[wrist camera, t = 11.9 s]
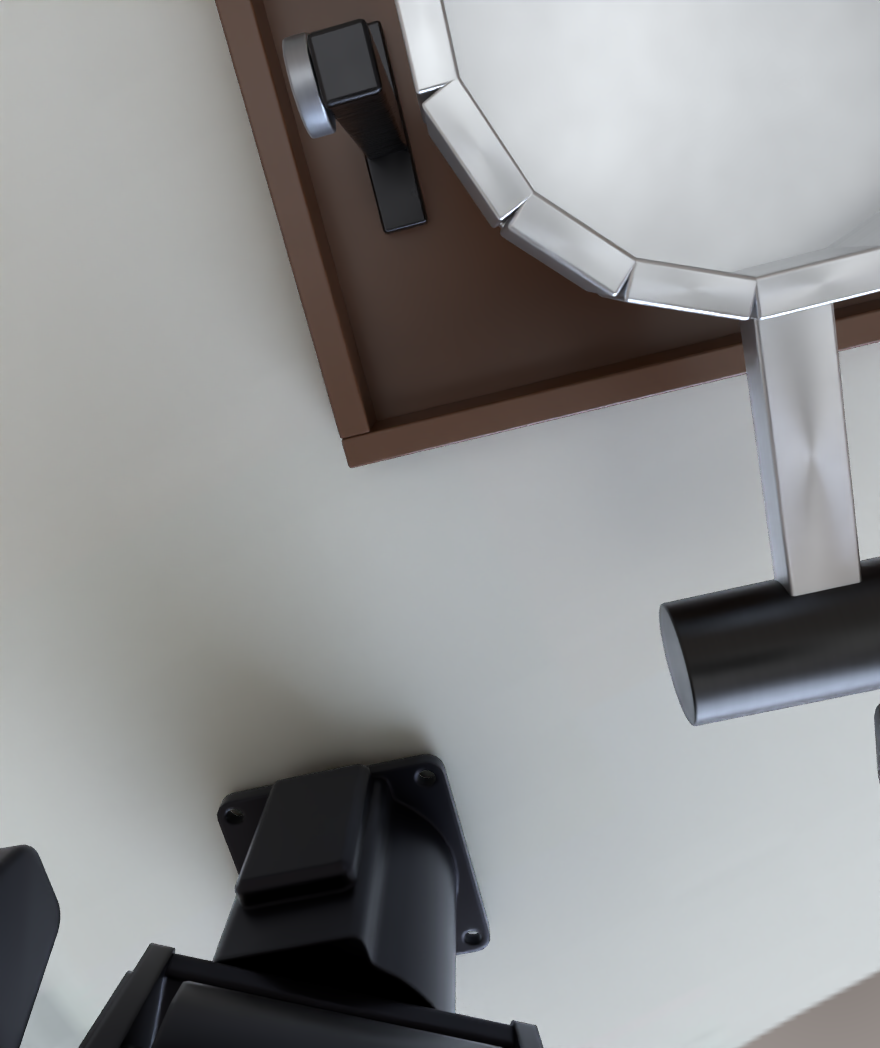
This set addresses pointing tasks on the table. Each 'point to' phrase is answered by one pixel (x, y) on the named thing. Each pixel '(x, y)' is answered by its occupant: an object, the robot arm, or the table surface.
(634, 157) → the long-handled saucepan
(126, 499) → the table surface
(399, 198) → the stand
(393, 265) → the tray
